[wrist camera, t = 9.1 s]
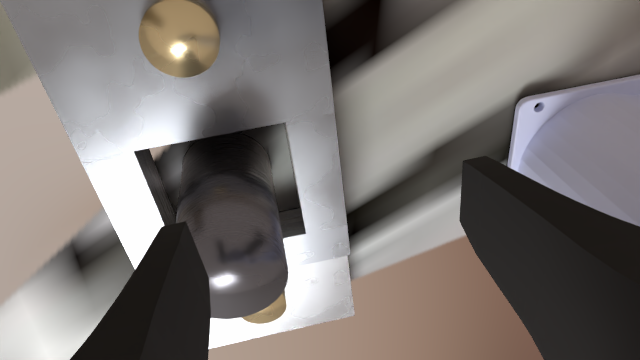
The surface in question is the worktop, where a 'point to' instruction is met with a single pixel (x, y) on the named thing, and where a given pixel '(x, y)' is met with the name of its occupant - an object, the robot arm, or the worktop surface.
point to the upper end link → (189, 98)
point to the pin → (234, 223)
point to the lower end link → (298, 296)
